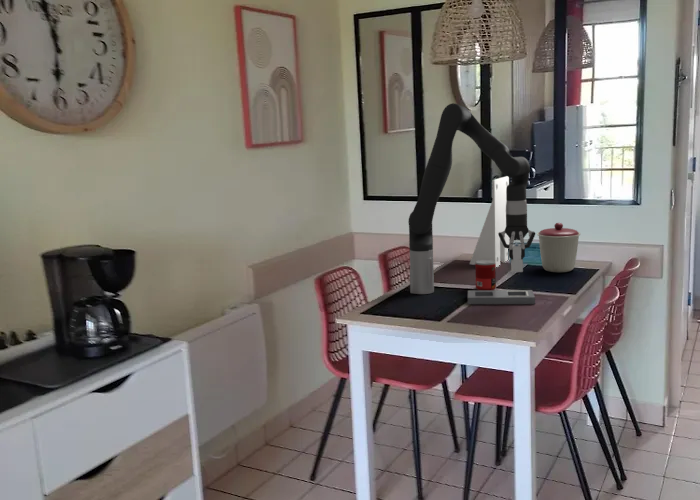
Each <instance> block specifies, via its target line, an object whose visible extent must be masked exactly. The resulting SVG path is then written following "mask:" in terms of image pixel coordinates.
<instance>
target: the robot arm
mask: <svg viewBox="0 0 700 500" xmlns="http://www.w3.org/2000/svg"><path fill="white" fill-rule="evenodd" d="M457 131H459V132H461V133H463V134H464V135H466V136H468V137H469V138H470V139H471V140H473V143H475V144H476V146H477V147H478V148H479V149H480V150H481V152H482V153H484V155H486V156H487V157H488V158H489V159H491V161H493V162H494V163H495V165H496V167H497V168H498V169H499V171H500V172H501V174H503V175H504V176H505V177H506V176H508V177H509V178H511V182H509V185H508V186H507V188H506V228H505V231H503V232H499V233H498V235H499V237H500V239H501V241H502V243H503V246H504V247H505V248H508V249H509V259H510V260H511V259H513V249H512V248H513V245H514V244H515V243H514V242H515V241H516V240H517V241H519V242H520V244H521V259H523V260H524V258H525V257H526V253H525V252H526V249H528V248H530V247H531V245H532V243H533V240H534V238H535V236H536V232H535V231H532V230H529V227H528V204H527V186H528V182H529V177H530V172H531V171H530V170H531V169H530V167H531V166H530V164H529V161H528V159H527V158H526V157H524V156H514V157H513V156H512V155H511V154H510V149H509V147H508V146H507V145H506V144H505V143H504V142H502V140H500V139H498V138H497V137H496V136H495V135H493V134H492V133H491V132H489V130H487V129H486V128H485V127H484V126H483V125H482V124H481V123H480V121H478V119H477V118H476V117H475V116H474V115H473V113H472V112H471V111H470V110H469V108H467V107H465V106H463V105H462V104H461V105H460V104H458V103H454V102H453V103H449V104H447V105H445V107H444V109H443V110H442V113H441V115H440V118H439V124H438V128H437V133H436V137H435V140H434V143H433V147H432V149H431V153H430V156H429V158H428V161H427V164H426V167H425V169H424V173H423V176H422V180H421V186H420V190H419V191H420V192H419V194H418V198H417V201H416V203H415V206H414V207H413V210H412V211H411V213H410V214H409V217H408V231H409V233H408V236H409V237H408V240H409V241H408V243H409V289H410V294H415V295H416V294H417V295H427V294H428V295H429V294H432V293H434V292H435V284H434V283H435V281H434V280H435V279H434V271H435V270H434V239H433V238H434V237H433V219H434V215H435V212H436V211H435V210H436V208H437V207H436V206H437V204H438V201H439V198H440V197H441V194H442V193H443V190H444V188H445V185H446V183H447V181H448V178H449V175H450V172H451V170H452V165H453V143H454V139H455V136H456V134H457ZM505 233H506V234H507V235H508V237H509V245H508V244H506V242H505V239H504V237H505ZM527 235H528V237H529V238H528V240H527V242H526V243H525V240H524V239H525V237H526V236H527Z"/></svg>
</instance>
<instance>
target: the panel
mask: <svg viewBox="0 0 700 500" xmlns="http://www.w3.org/2000/svg"><path fill="white" fill-rule="evenodd" d="M533 291H534V290H532V289H520V290H519V289H516V290H515V289H512V290H511V289H509V290H508V289H507V290H505V289H500V290H499V289H496V290H495V289H494V290H478V289H476V290H475V289H473V290H467V305H535V304H536V296H535V293H534V292H533Z"/></svg>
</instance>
